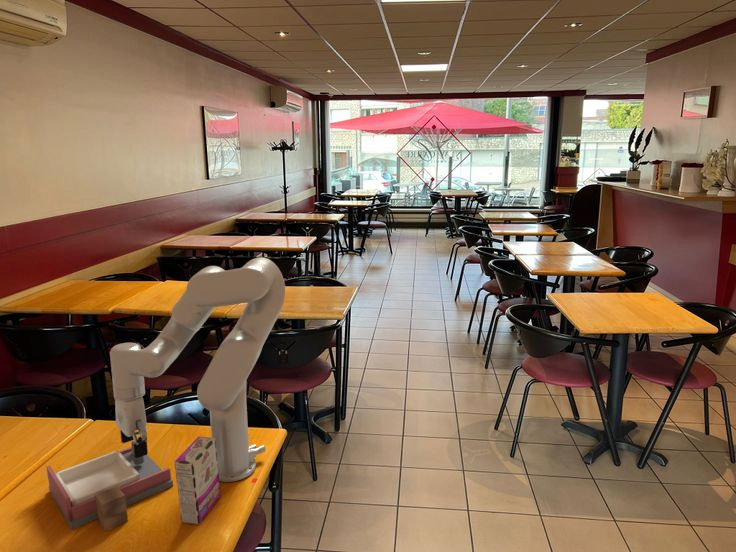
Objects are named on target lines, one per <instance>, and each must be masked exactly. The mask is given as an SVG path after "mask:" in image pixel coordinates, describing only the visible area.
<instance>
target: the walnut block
mask: <svg viewBox="0 0 736 552" xmlns="http://www.w3.org/2000/svg"><path fill="white" fill-rule="evenodd" d="M95 499H96V506H97V513H98V522H99V523H100V525H101V526H102V528H103V530H104V532H107V531H108V532H109V531H110V530H112V529H114V528H117V527H118V526H121V525H123V524H126V523H127V521H128V522H129V517H128V509H127V506H126V501H125V495H124V494H123V492H122V491H121V490H120V489H119V487H118V486H116V487H113V488H111V489H108V490H106V491H103V492H101V493H98V494H96V495H95ZM125 522H126V523H125Z"/></svg>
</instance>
